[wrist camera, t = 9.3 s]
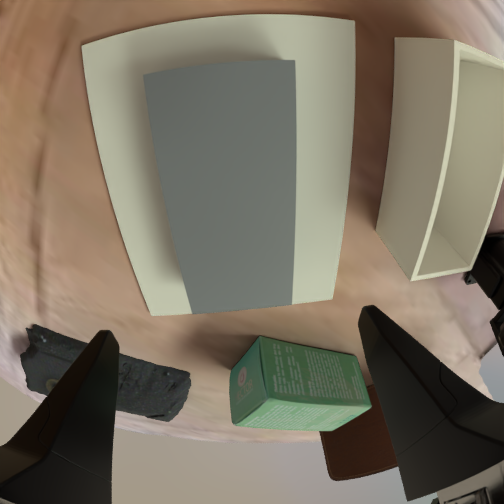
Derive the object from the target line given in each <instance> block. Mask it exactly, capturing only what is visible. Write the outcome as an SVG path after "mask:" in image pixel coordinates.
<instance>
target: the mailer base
mask: <svg viewBox="0 0 504 504" xmlns="http://www.w3.org/2000/svg"><path fill="white" fill-rule="evenodd" d="M394 41H395V53H394V88H393V105H392V118H391V129H390V139H389V148H388V156H387V164H386V171H385V178H384V185H383V191H382V198H381V203H380V209H379V215H378V220H377V225H376V230H375V231H376V233H377V234H378V235H379V237H380V238H381V240H382V241H383V242H384V244H385V245H386V247H387V248H388V249H389V251H390V252H391V254H392V255H393V257H394V258H395V259H396V261H397V262H398V264H399V265H400V267H401V268H402V270H403V271H404V273H405V274H406V276H407V277H408V279H409V280H410V281H415V280H421V279H427V278H433V277H438V276H444V275H449V274H454V273H460V272H465V271H470V270H471V269H472V267H473V265H474V262H475V260H476V258H477V255H478V253H479V250H480V248H481V245H482V243H483V240H484V237H485V235H486V232H487V229H488V226H489V224H490V221H491V218H492V215H493V212H494V209H495V205H496V202H497V199H498V196H499V192H500V189H501V185H502V181H503V177H504V61H502V60H500V59H498V58H495V57H493V56H491V55H489V54H487V53H485V52H483V51H480V50H478V49H476V48H473V47H471V46H469V45H466V44H464V43H461V42H459V41H456V40H450V39H437V38H411V37H395V38H394Z"/></svg>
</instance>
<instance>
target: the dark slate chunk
mask: <svg viewBox="0 0 504 504" xmlns="http://www.w3.org/2000/svg"><path fill="white" fill-rule="evenodd" d="M26 331H27V333H28V337H29V341H30V346H29V348H28V349H27V350H26V352H24V353H22V354H21V355H20V358H21V364H22V367H23V369H24V372H25V374H26V382H27V387H28V389H29V390H31V391H36V392H38V393H40V394H44V395H46V396H47V395H48V394H49V393H50V391H51V390H52V389H53V387H54V386H55V385H56V383H57V382H58V381H59V380H60V378H61V377H62V376H63V374H64V373H65V372H66V371H67V369H68V368H69V367H70V366H71V364H72V363H73V362H74V361H75V359H76V358H77V357H78V356H79V355H80V353H81V352H82V351H83V350H84V348H85V347H86V346H87V345H88V343H85V342H82V341H79V340H76V339H73V338H70V337H67V336H64V335H62V334H59V333H56V332H54V331H52V330H49V329H47V328H43V327H41V326H39V325H33V329H28V328H26ZM189 377H190V373H188V372H186V371H183V370H178V369H175V368H172V367H166V366H161V365H156V364H154V363H151V362H147V361H144V360H141V359H136V358H133V357H130V356H127V355H123V354H121V353H119V383H118V394H117V403H116V410H117V411H123V412H127V413H131V414H137V415H142V416H146V417H147V418H151V419H156V420H161V421H166V422H169V421H171V420H172V419H173V418H174V417H175V416H176V415H178V413H179V411H180V410H181V409H182V407H183V405H184V402H185V401H186V399H187V395H188V392H189V388H190V386H191V379H190V378H189Z"/></svg>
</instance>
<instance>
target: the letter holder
mask: <svg viewBox="0 0 504 504" xmlns="http://www.w3.org/2000/svg"><path fill="white" fill-rule="evenodd" d="M366 389H367V392H368V395H369V399H370V402H371V405H372V407H371V408H370V409H369V410H367V411H365V412H364V413H362V414H360V415H359V416H357V417H355V418H354V419H352V420H350V421H349V422H347V423H345V424H343V425H342V426H340V427H338V428H336V429H335V430H333V431H319V432H320V436H321V441H322V445H323V450H324V455H325V459H326V464H327V470H328V473H329V476H330V478H331V479H332V480H335V481H341V480H349V479H355V478H360V477H364V476H369V475H372V474H376V473H379V472H383V471H386V470H389V469H392V468H395V467H398V463H397V459H396V455H395V452H394V448H393V445H392V441H391V438H390V434H389V431H388V427H387V424H386V421H385V418H384V414H383V411H382V408H381V405H380V402H379V398H378V395H377V392H376V389H375V386H374V384H373V385H370V386H368V387H366Z"/></svg>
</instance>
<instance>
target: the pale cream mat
mask: <svg viewBox="0 0 504 504" xmlns="http://www.w3.org/2000/svg"><path fill="white" fill-rule="evenodd" d="M82 55H83V64H84V72H85V79H86V86H87V93H88V99H89V105H90V110H91V116H92V121H93V126H94V131H95V136H96V141H97V145H98V150H99V154H100V158H101V163H102V167H103V171H104V175H105V179H106V182H107V186H108V190H109V194H110V197H111V201H112V204H113V208H114V211H115V214H116V218H117V221H118V224H119V228H120V231H121V234H122V237H123V240H124V243H125V246H126V249H127V252H128V255H129V258H130V261H131V264H132V266H133V269H134V272H135V275H136V277H137V280H138V283H139V286H140V288H141V291H142V293H143V296H144V298H145V301H146V304H147V306H148V309H149V311H150V313H151V316H162V315H179V314H192V311H191V308H190V304H189V301H188V297H187V293H186V290H185V286H184V282H183V278H182V274H181V271H180V267H179V263H178V259H177V255H176V251H175V246H174V242H173V238H172V234H171V229H170V225H169V221H168V216H167V212H166V207H165V202H164V198H163V193H162V188H161V183H160V178H159V173H158V167H157V162H156V157H155V151H154V145H153V140H152V134H151V127H150V121H149V115H148V108H147V101H146V94H145V86H144V79H143V75H144V74H148V73H154V72H159V71H164V70H170V69H176V68H182V67H189V66H197V65H205V64H214V63H225V62H237V61H256V60H295V69H296V123H297V163H296V220H295V250H294V274H293V294H292V304H299V303H307V302H315V301H323V300H330V299H332V298H333V293H334V287H335V281H336V275H337V269H338V263H339V257H340V250H341V244H342V237H343V229H344V222H345V214H346V206H347V197H348V188H349V178H350V167H351V155H352V142H353V126H354V106H355V60H356V58H355V21H353V20H346V19H338V18H329V17H319V16H306V15H286V14H251V15H231V16H218V17H207V18H199V19H191V20H184V21H178V22H172V23H166V24H161V25H155V26H151V27H146V28H141V29H137V30H133V31H129V32H125V33H121V34H118V35H114V36H111V37H107V38H104V39H101V40H97V41H94V42H91V43H88V44H85V45H82Z"/></svg>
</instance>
